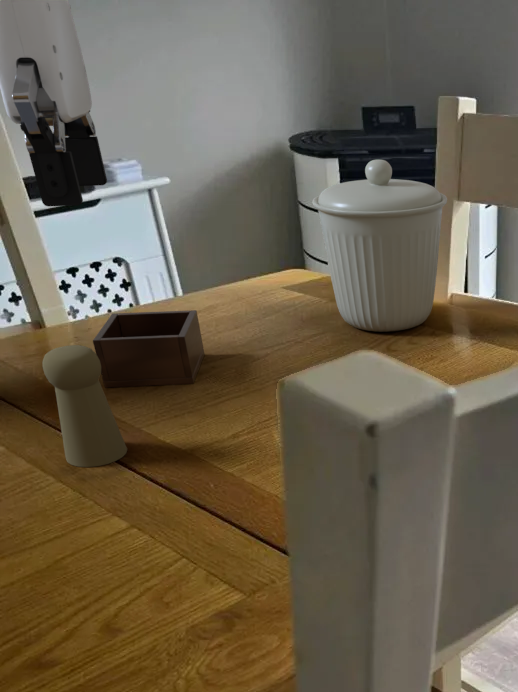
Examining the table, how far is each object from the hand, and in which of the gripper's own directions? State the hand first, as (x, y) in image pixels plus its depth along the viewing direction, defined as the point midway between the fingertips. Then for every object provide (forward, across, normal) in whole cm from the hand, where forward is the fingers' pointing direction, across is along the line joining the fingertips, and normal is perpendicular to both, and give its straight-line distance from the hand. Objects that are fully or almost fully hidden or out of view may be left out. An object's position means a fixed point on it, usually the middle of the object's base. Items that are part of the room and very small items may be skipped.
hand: (77, 194), depth 74 cm
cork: (+24, +3, -4) cm, 25 cm away
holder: (+24, -21, -1) cm, 32 cm away
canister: (+24, -37, +29) cm, 53 cm away
